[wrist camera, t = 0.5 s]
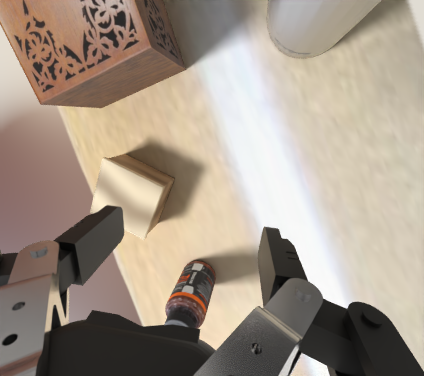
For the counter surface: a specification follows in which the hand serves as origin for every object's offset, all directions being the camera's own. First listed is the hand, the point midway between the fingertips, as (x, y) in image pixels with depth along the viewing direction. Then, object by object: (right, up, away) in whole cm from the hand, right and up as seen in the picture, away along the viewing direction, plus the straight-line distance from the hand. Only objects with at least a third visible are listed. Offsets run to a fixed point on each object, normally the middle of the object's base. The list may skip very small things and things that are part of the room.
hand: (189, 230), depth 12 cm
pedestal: (-10, +2, +23) cm, 26 cm away
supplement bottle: (-1, -13, +27) cm, 30 cm away
